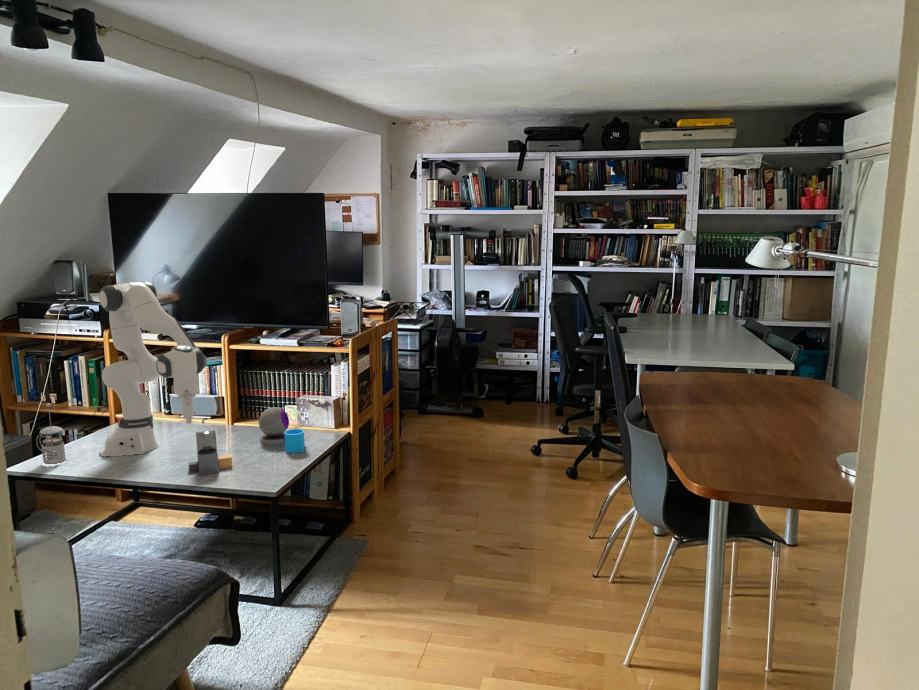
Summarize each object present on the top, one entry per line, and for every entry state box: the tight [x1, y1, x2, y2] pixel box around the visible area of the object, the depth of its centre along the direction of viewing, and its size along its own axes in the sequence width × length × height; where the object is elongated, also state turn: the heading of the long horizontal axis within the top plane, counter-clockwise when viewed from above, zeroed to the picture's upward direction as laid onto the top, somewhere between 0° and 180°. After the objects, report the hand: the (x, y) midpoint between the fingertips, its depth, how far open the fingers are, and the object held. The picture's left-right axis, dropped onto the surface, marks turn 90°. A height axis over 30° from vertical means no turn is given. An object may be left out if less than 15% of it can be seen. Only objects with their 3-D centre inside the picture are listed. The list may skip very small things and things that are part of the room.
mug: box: [284, 428, 306, 454], centre depth 294 cm, size 12×8×8 cm
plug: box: [188, 453, 233, 473], centre depth 272 cm, size 16×4×4 cm, turn 113°
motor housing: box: [195, 429, 220, 476], centre depth 270 cm, size 7×14×15 cm, turn 23°
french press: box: [35, 402, 68, 464], centre depth 276 cm, size 10×12×25 cm
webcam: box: [258, 406, 290, 446], centre depth 305 cm, size 13×13×15 cm
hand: (189, 422), depth 266 cm, fingers closed
